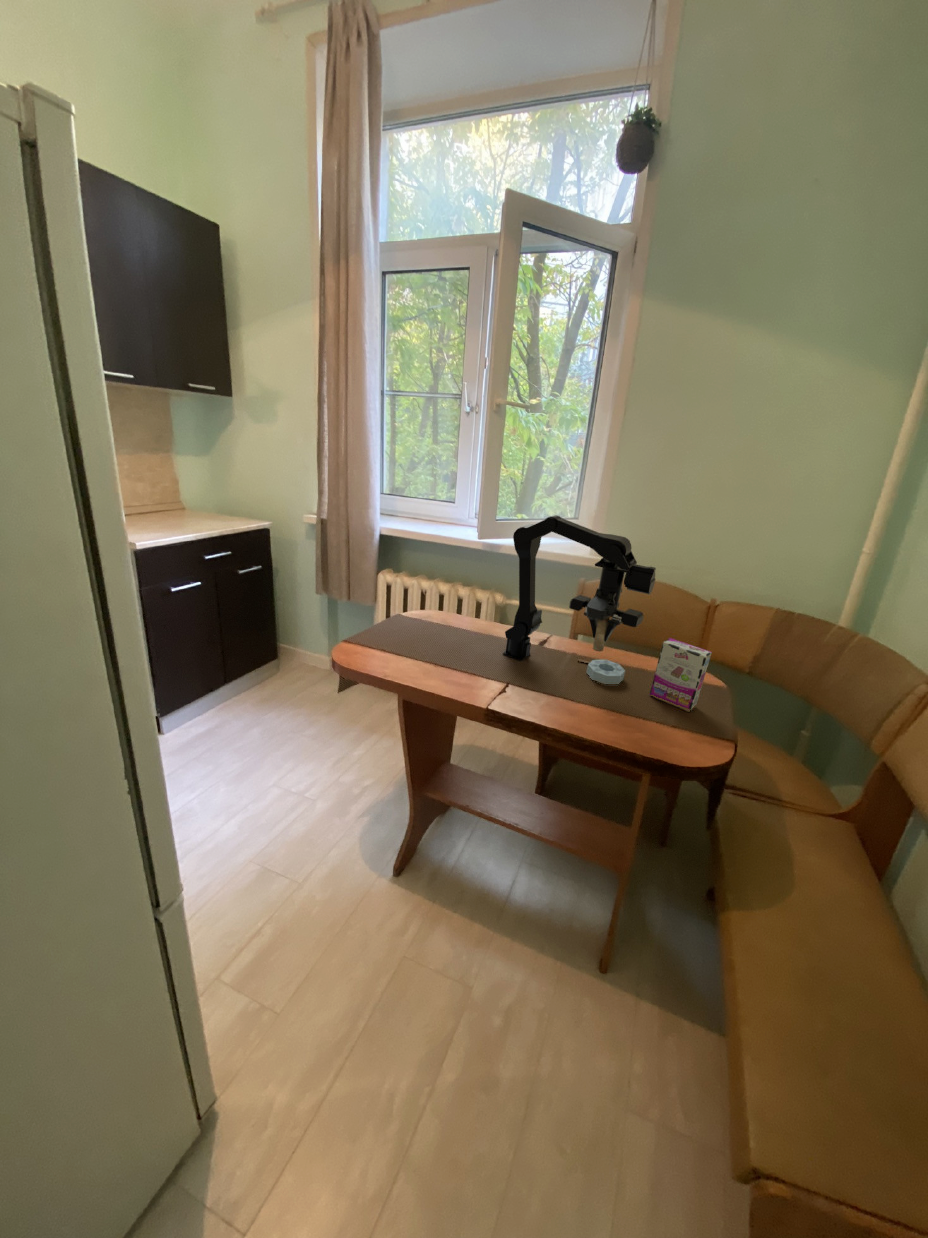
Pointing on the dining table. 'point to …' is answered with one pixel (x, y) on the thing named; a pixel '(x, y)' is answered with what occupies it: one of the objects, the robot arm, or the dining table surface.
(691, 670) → the candy bar box
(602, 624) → the beige wooden cylinder
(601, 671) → the bead
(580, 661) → the brown wooden stick
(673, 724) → the dining table surface
